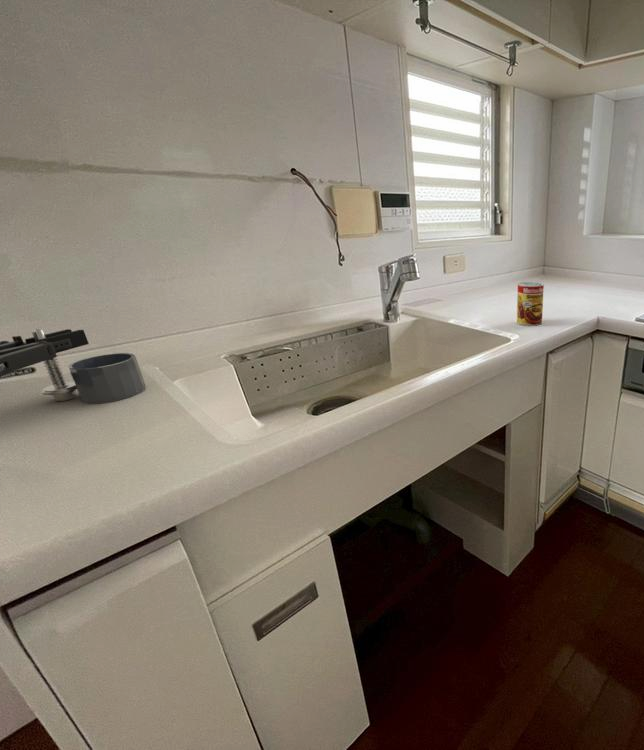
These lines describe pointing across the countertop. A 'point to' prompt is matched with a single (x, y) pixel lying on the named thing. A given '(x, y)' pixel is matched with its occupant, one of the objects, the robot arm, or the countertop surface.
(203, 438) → the countertop surface
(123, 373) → the steel cup
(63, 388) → the screw
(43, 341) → the robot arm
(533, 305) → the canned food
